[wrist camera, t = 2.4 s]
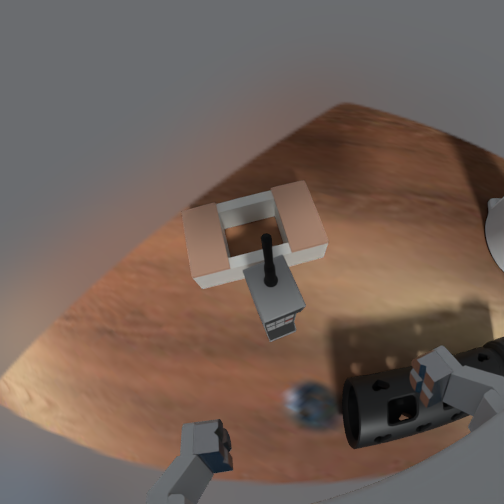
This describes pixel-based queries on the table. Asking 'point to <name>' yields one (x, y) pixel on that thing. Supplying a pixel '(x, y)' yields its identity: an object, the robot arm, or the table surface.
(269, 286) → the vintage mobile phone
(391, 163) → the table surface
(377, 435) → the muzzle brake
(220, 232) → the tan rectangular frame
